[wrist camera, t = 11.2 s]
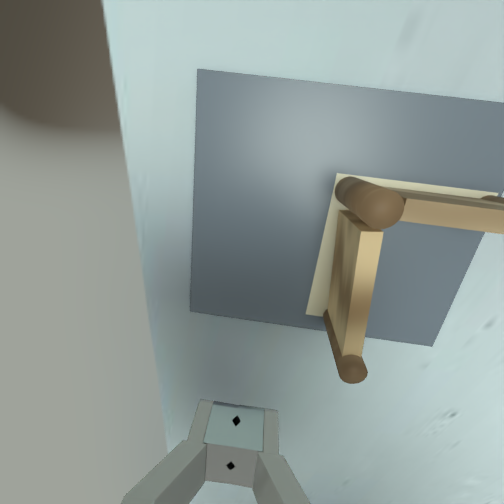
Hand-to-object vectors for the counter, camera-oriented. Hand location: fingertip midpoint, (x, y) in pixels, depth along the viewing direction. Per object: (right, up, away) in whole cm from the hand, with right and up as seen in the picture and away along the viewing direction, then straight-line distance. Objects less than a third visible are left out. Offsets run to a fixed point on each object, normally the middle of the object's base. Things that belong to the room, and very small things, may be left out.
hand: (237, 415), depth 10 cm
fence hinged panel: (+8, +5, +11) cm, 15 cm away
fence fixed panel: (+12, +10, +9) cm, 19 cm away
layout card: (+7, +8, +11) cm, 15 cm away
